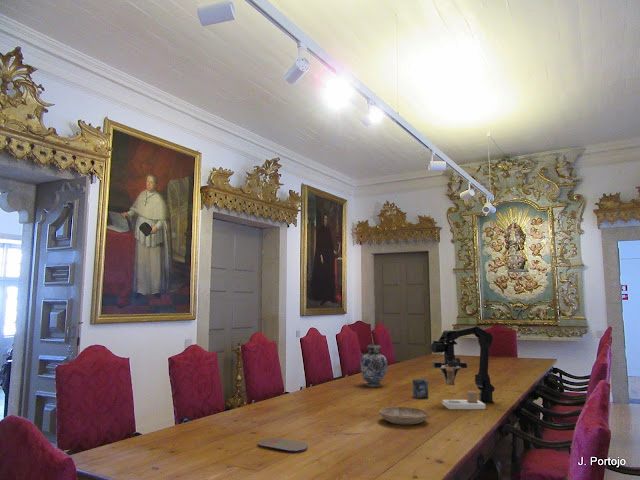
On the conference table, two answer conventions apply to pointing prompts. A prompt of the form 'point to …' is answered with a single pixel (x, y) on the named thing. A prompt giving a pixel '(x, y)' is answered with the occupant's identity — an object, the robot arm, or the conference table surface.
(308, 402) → the conference table surface
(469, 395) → the white block with holes
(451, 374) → the beige rectangular block
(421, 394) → the box
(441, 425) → the conference table surface
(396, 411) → the ceramic bowl
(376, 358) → the decorative vase
